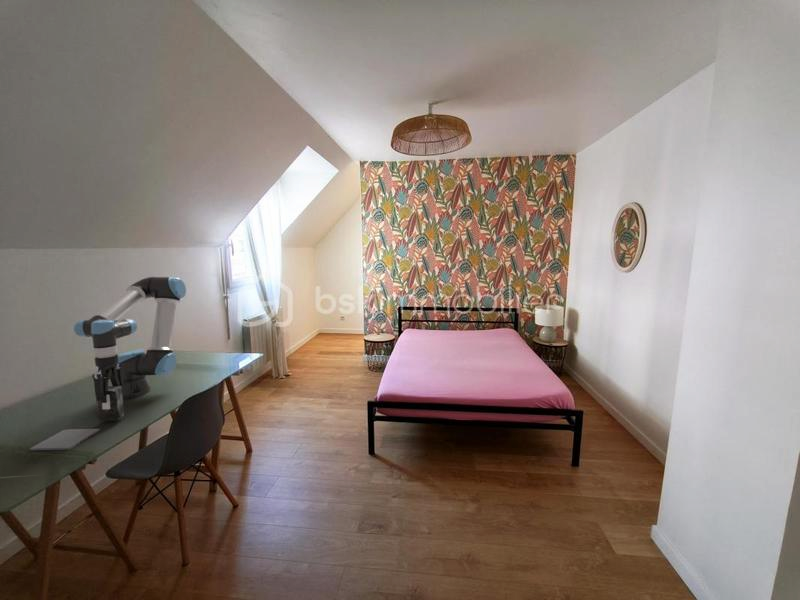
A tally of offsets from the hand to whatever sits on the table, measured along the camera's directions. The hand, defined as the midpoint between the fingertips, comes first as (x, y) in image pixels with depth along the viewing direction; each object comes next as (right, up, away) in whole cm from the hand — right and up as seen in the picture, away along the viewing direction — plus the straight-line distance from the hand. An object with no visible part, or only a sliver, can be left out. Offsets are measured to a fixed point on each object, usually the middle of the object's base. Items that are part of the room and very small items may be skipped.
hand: (112, 405), depth 146 cm
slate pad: (-6, -9, -14) cm, 18 cm away
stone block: (0, -7, -1) cm, 7 cm away
